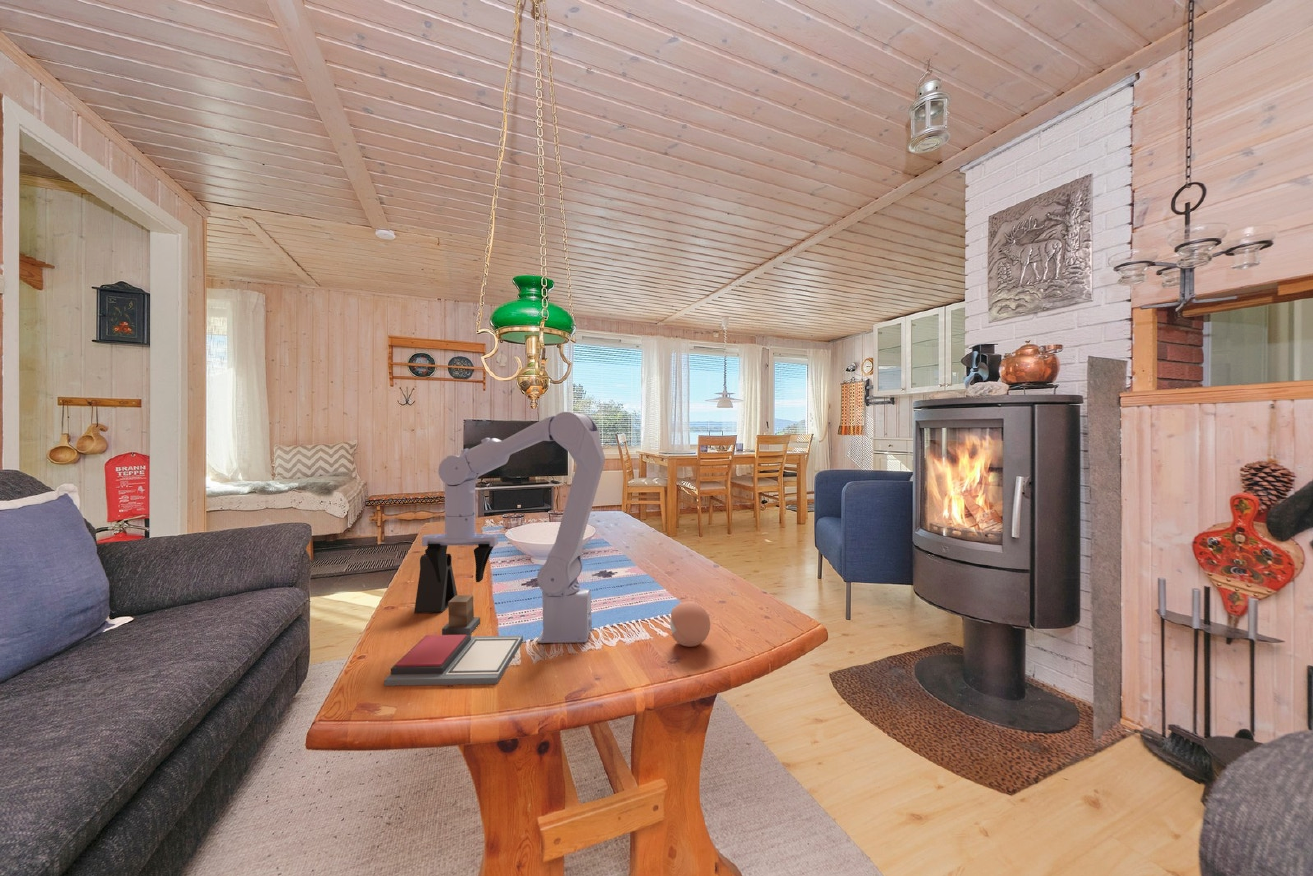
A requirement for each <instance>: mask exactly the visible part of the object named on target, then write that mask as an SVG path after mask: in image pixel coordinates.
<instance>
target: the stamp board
mask: <svg viewBox="0 0 1313 876" xmlns="http://www.w3.org/2000/svg"><path fill="white" fill-rule="evenodd" d="M522 641H523V642H524V635H484V636H483V635H482V636H481V635H479V636H478V635H477V636H476V635H475V636H472V634H471V635H442V634H427V635H425V636H424V637H423V638H421V639H420V640H419V642H417V643H416V644H415V645H414V646H413V647H412V648H411V649H410V650H409V651H408V652H407V653H406V654H404V656H402V657H401V659H399V660H398V661H397V662H396V663H395V664H393V666H392V667H391V668H390V673H389V674H388V676H386V677H385V678H384V680H383V682H384V683H383V684H384V687H385V686H386V687H387V686H388V687H390V686H393V687H394V686H395V685H398V687H399V685H401V686H450V685H451V686H452V685H453V686H454V685H455V686H456V685H458V684H462V685H463V684H464V685H497V684H498V683H499V681H500V680H501V678H502V676H503V675H504V674H505V671H506V669H507V668H508V667H509V665H510V663H511V662H512V659H514V656H515V655H516V653H517V652H518V650H519V648H520V647H521V645H522V643H523V642H522ZM519 646H520V647H519ZM432 684H433V685H432ZM462 685H461V686H462Z"/></svg>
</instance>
